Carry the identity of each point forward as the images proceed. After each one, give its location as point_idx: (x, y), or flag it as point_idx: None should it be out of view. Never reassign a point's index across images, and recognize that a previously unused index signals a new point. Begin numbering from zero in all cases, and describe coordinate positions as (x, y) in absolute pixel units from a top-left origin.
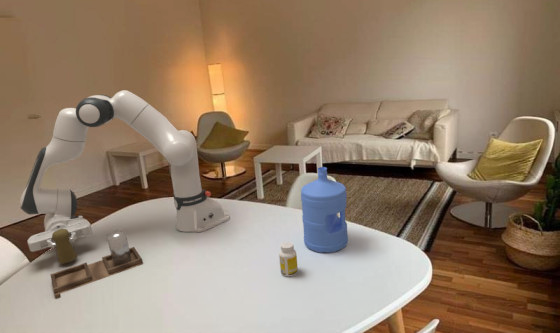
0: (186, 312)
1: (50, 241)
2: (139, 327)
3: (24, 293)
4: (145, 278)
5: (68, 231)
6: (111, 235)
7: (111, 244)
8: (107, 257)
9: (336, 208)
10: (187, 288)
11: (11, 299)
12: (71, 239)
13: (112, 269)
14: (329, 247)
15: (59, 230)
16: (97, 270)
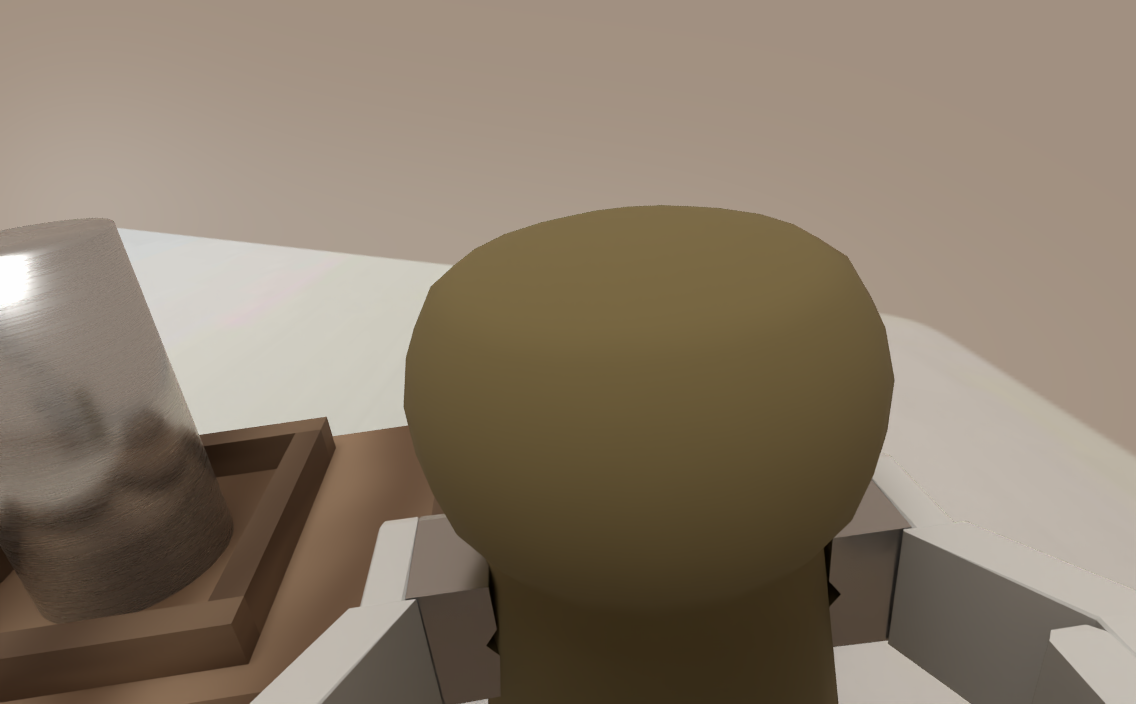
0: (265, 273)
1: (1014, 569)
2: (403, 261)
3: (1045, 528)
4: (200, 407)
5: (404, 399)
6: (61, 234)
7: (144, 299)
8: (187, 611)
9: None
10: (157, 327)
11: (1125, 493)
12: (441, 522)
13: (295, 423)
14: None
15: (630, 233)
16: (378, 523)
